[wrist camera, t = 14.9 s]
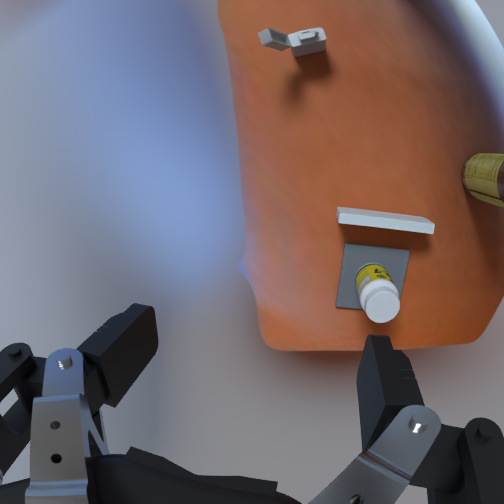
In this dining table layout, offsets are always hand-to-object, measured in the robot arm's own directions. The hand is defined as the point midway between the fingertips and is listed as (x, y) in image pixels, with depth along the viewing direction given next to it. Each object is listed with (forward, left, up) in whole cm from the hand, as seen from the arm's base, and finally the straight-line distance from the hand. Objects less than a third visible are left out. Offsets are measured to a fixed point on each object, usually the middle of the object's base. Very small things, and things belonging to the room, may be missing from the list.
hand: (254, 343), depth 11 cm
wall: (+1, +11, -30) cm, 32 cm away
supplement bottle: (+9, +11, -30) cm, 33 cm away
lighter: (-20, -1, -30) cm, 36 cm away
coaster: (+9, +11, -30) cm, 33 cm away
